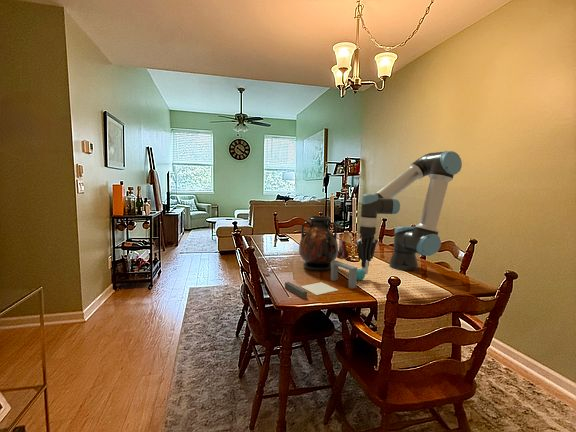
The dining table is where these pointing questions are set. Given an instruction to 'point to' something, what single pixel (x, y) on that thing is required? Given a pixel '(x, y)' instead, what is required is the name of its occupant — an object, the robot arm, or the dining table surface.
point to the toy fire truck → (342, 249)
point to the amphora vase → (318, 244)
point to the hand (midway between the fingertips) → (364, 273)
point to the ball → (360, 274)
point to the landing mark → (319, 288)
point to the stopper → (296, 290)
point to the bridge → (351, 269)
